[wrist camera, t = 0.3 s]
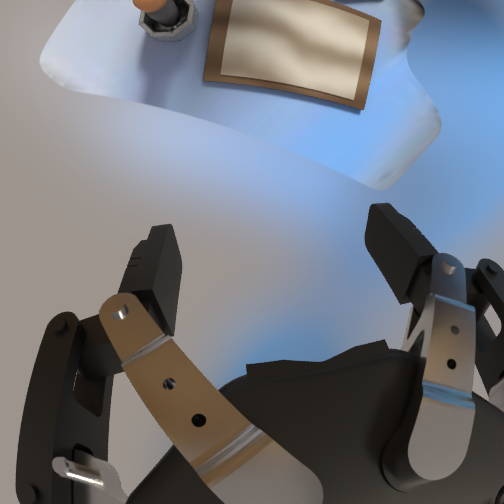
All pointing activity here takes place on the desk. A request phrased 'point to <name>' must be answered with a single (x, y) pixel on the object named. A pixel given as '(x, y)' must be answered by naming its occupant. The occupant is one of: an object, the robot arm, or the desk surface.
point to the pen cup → (174, 32)
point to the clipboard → (294, 47)
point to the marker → (160, 11)
